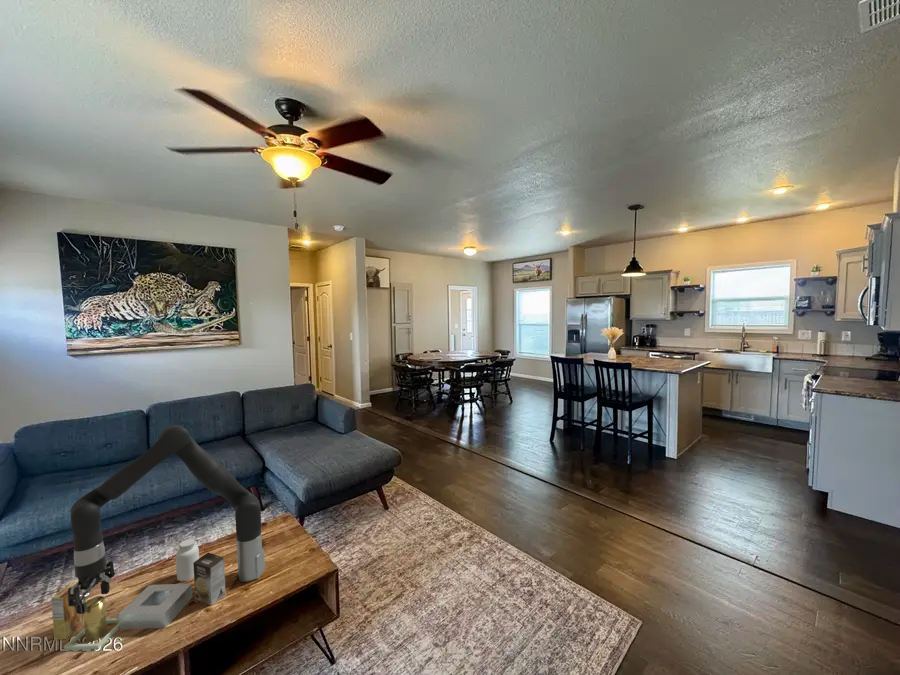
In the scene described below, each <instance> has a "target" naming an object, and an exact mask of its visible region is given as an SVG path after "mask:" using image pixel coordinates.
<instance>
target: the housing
mask: <svg viewBox="0 0 900 675" xmlns="http://www.w3.org/2000/svg"><path fill="white" fill-rule="evenodd" d="M192 586H193V585H192V583H172V584H171V583H166V584H148V585H147V586H146V588H145V589H143V591H141V592H140V593H139V594H138V595H137V596H136V597H135V598H134V599H133V600H132V601H130V603H129V604H127V605H126V607H124V608H123V609H122V610H121V611H120V612H118V617H117V618H119V629H118V630H138V629H140V630H141V629H158V628H159V629H161V628H162V629H164V628H165V629H166V628H167V627H168V626H169V624H171V623H172V622H173V620H174V619H175V618H176V616H178V615H179V613H180V612H181V611H182V610H183V609H184V608H185V606H186V605H187V604H188V603H189V602H190V601H191V599H192V598H193V588H192Z"/></svg>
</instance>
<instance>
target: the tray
mask: <svg viewBox="0 0 900 675" xmlns="http://www.w3.org/2000/svg"><path fill="white" fill-rule="evenodd" d="M106 620H107V625H108V624H110V625H111V624H116V625H115V626H114V627H113V628H112V629H111V630H109V632H107V633H106V634H105V635H104V636H103V637H102V639H101V640H99V641H98V642H97V643H78V644H77V643H76V642H77V641H78V640H79V639H81V637H83V636H84V635H85V627H84V628H83V629H81V631H79V633H78V634H76V635H75V636H74V637H73V638H72V639H70V641H69V642H67V643H66V644H65V645H64V646H63V651H73V650H74V651H77V650H99V649H100V648H101V647H102V646H103V645H104V644H105V643H106V642H107V641H108V640H109V639H110V638H111V637H112V636H113V635H114V634H115V633H116V632H117V631H118V630H120V629H119V618H118V617H117V618H106Z"/></svg>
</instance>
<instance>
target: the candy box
mask: <svg viewBox="0 0 900 675" xmlns="http://www.w3.org/2000/svg"><path fill="white" fill-rule="evenodd" d="M77 584H78V579H73V581H71V582H69V583H68V585H66V586H65V587H63V588H62V589H61V590H60V591H58V592H57V593H56V594H55V595H53V596H51V599H50V600H51V613H52V614H51V615H52V621H53V622H52V627H53V639H54V640H58V641H59V640H66V639H68V638H69V637H70V636H71V635H72V634H74V633H75V632H76V631H77V630H78V628H80V627H81V626H82V625H84V617H83V614H78V613H77V609H76V606H69V603H68V589H69V588H70V587H74V586H76V585H77ZM86 591H87V590H84V589H83V590H82V592H86ZM82 597H83V595H81V598H80V599H82ZM74 601H75V600H74ZM85 601H86V602H87V601H88V597H87V598H86V600H85Z"/></svg>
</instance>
